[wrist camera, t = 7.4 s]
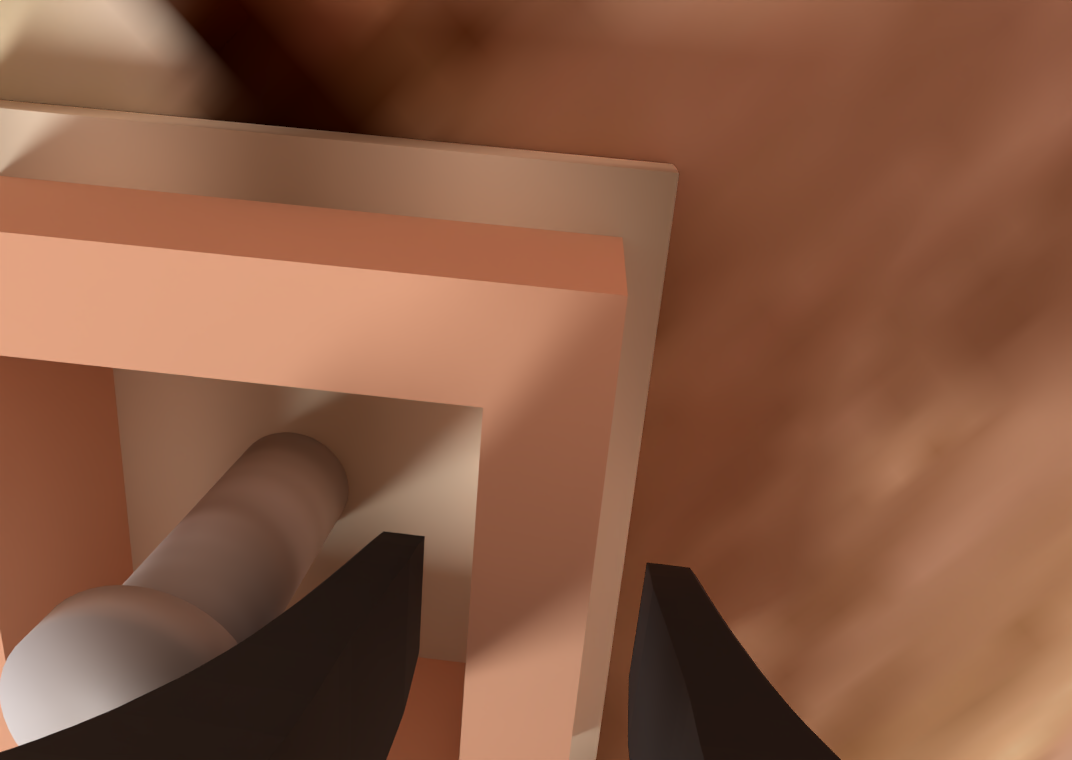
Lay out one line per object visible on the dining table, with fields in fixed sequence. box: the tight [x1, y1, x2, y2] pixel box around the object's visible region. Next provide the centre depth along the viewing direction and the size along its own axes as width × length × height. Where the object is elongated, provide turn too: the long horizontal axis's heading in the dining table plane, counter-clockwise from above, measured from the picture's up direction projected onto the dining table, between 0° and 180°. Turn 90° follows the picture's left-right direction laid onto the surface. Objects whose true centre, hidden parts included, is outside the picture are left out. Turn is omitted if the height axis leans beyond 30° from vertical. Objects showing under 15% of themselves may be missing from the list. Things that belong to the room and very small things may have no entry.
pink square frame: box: [0, 176, 628, 760], centre depth 13 cm, size 10×10×4 cm
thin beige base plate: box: [0, 100, 679, 760], centre depth 14 cm, size 12×19×7 cm, turn 176°
